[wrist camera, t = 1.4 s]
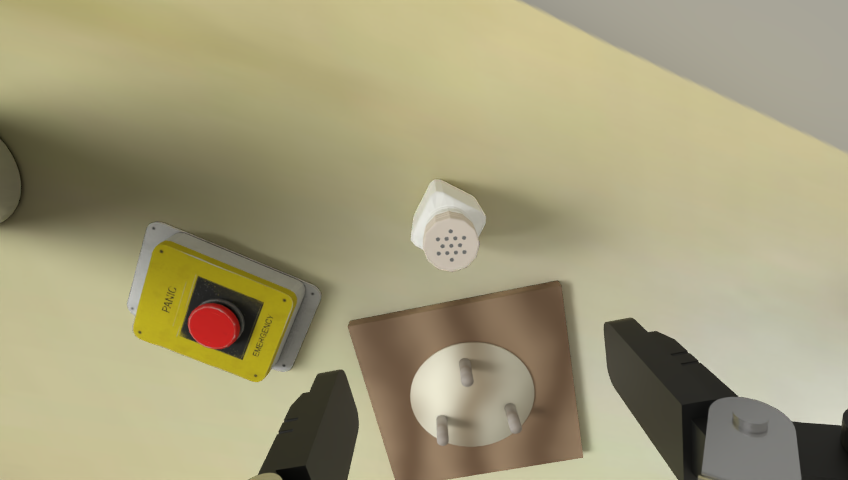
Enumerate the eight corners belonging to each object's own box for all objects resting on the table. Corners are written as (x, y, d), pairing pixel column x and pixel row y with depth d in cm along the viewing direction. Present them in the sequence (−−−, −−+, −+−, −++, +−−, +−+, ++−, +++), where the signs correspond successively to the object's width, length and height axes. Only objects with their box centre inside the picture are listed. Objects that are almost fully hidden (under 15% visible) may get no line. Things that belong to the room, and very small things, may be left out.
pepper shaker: (410, 219, 31) (403, 260, 22) (433, 174, 30) (435, 198, 21) (455, 241, 32) (465, 289, 23) (478, 197, 31) (500, 230, 22)
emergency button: (273, 403, 32) (88, 334, 30) (291, 370, 36) (130, 308, 34) (312, 310, 29) (113, 229, 28) (326, 287, 34) (154, 215, 32)
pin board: (398, 478, 39) (395, 514, 36) (349, 321, 34) (340, 344, 30) (579, 449, 38) (594, 483, 34) (557, 280, 33) (573, 300, 29)
